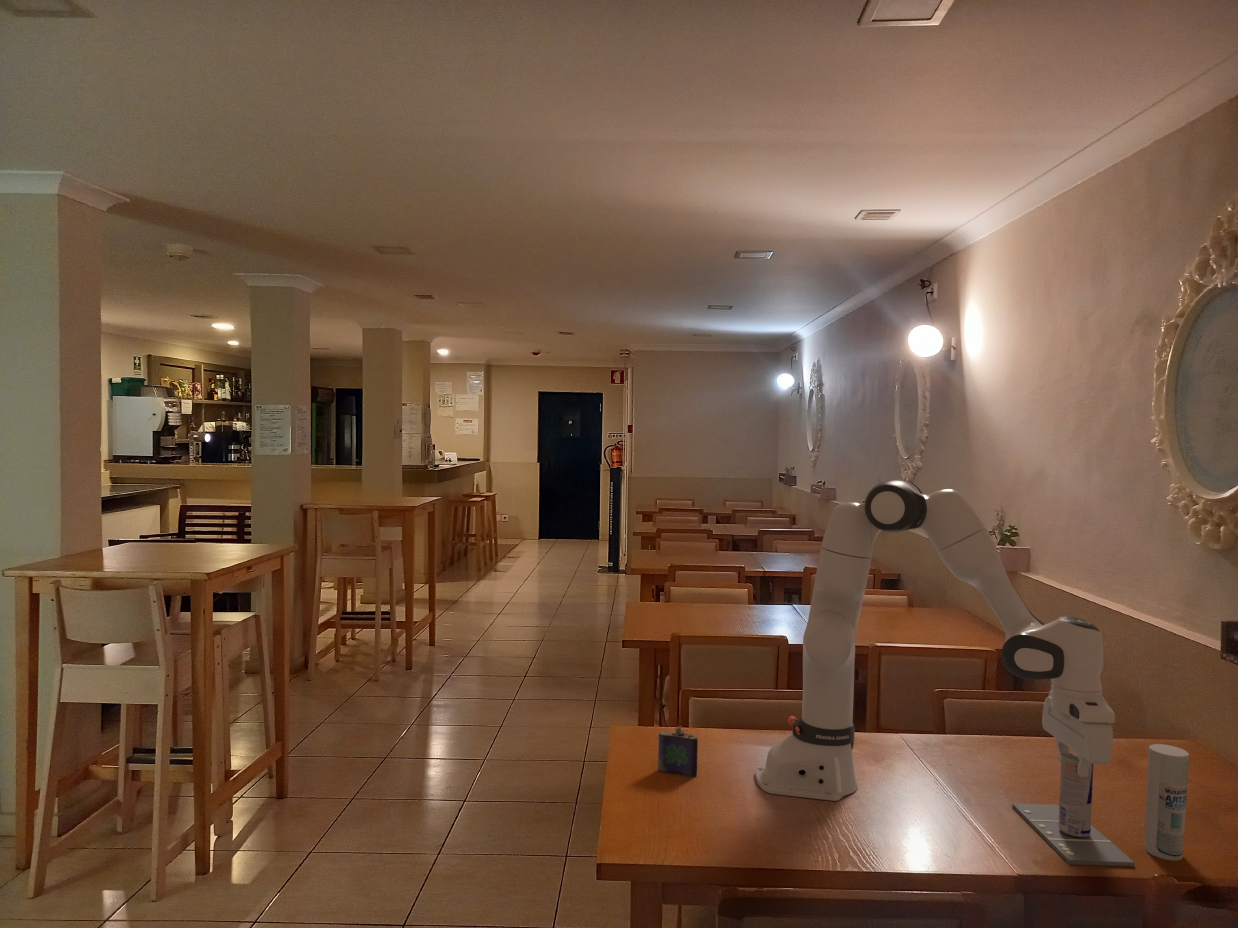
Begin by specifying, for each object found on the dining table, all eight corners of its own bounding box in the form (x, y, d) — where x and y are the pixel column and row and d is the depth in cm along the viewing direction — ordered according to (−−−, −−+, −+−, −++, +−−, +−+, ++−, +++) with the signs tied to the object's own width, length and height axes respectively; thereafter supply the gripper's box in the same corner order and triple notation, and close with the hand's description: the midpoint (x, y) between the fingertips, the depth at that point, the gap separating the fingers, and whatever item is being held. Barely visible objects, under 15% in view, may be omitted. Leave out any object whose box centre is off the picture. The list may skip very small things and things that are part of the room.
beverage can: (1095, 839, 166) (1098, 762, 166) (1065, 837, 167) (1068, 760, 167) (1082, 827, 172) (1085, 753, 172) (1053, 825, 172) (1056, 751, 172)
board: (1068, 863, 158) (1069, 859, 158) (1012, 806, 182) (1012, 802, 182) (1134, 866, 158) (1134, 861, 158) (1068, 808, 182) (1069, 804, 182)
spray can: (1166, 843, 168) (1171, 743, 167) (1192, 860, 161) (1197, 756, 160) (1135, 844, 167) (1140, 743, 166) (1160, 861, 160) (1166, 756, 160)
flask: (656, 772, 196) (657, 726, 196) (659, 767, 199) (661, 722, 198) (695, 778, 193) (697, 731, 193) (698, 773, 196) (700, 727, 195)
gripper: (1035, 684, 180) (1032, 748, 180) (1086, 716, 159) (1083, 789, 160) (1065, 684, 179) (1062, 749, 180) (1120, 717, 159) (1117, 790, 160)
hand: (1072, 768), depth 170 cm, fingers closed on beverage can, 5 cm apart
